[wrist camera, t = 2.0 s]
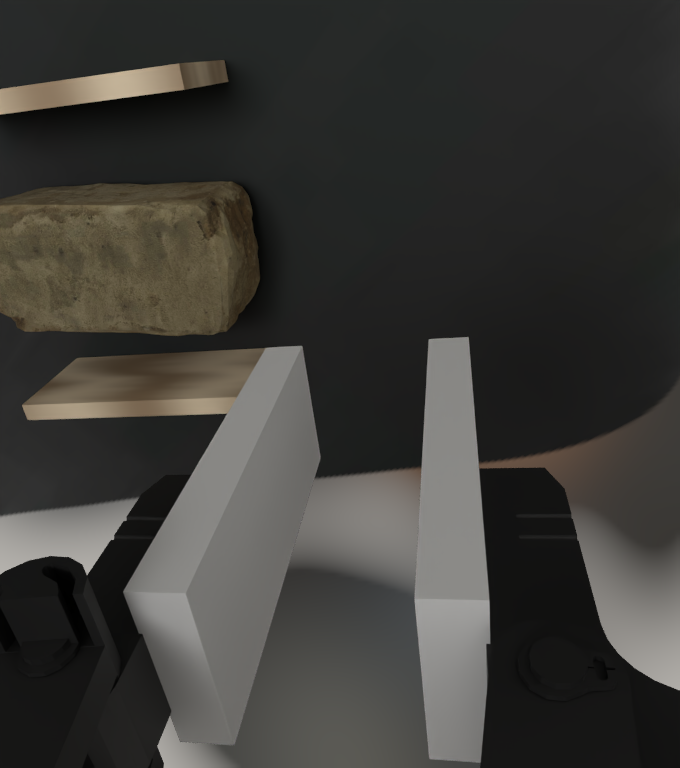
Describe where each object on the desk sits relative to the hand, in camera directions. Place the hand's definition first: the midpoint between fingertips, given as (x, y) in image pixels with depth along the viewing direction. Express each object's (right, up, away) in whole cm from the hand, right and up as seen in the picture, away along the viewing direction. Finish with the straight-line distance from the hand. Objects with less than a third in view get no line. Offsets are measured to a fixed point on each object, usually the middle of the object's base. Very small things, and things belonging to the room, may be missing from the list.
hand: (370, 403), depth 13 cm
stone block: (-10, +7, +17) cm, 21 cm away
